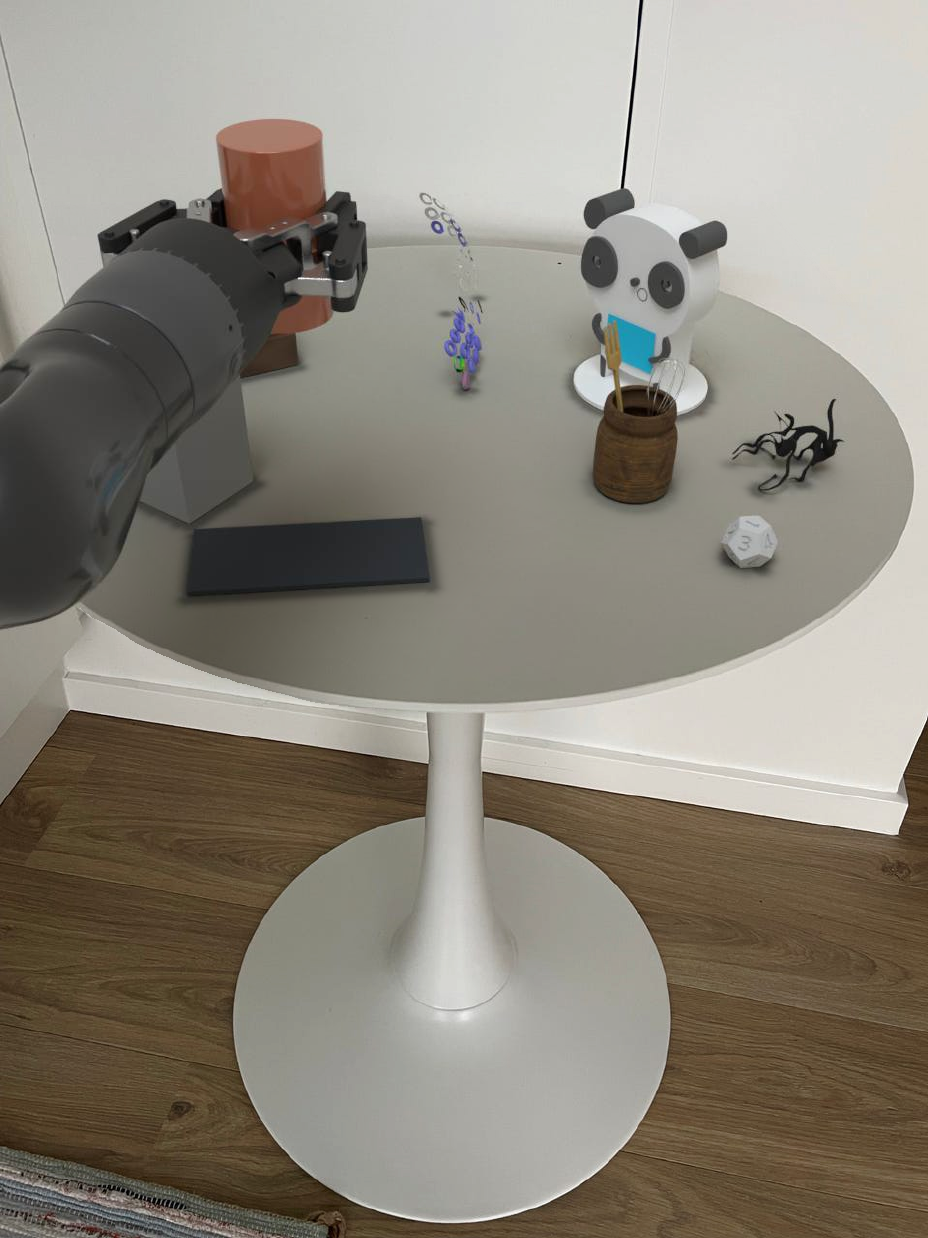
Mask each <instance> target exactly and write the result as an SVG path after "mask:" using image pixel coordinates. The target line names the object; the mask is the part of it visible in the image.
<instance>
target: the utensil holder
mask: <svg viewBox="0 0 928 1238" xmlns="http://www.w3.org/2000/svg"><path fill="white" fill-rule="evenodd" d="M608 329H609V337H608V330H607V327H606V326H605V327H604V339H605V349H606V359H607V367H608V369H610V370H612V371H613V376H614V384H615V390H613V391H612V392H611V393H610V394H609V395H608V396H607V399H606V402H605V405H604V411H603V416H602V418H601V419H600V421H599V423H598V425H597V431H596V435H595V444H594V454H593V461H592V462H593V463H592V477H593V479H592V480H593V483H594V485H595V487H596V488H597V490H598V491H599V492H600V493H601V494H603V495H604V496H606V497H608V498H610V499H611V500H614V501H617V502H622V503H628V504H644V503H650V502H652V501H655V500H657V499H659V498H661V497H662V496H664V495H665V494H666V492H667V491H668V490H669V488H670V486H671V482H672V479H673V473H674V468H675V461H676V456H677V455H676V454H677V450H678V449H677V447H678V439H679V438H678V437H679V436H678V435H679V433H678V428H677V425H676V421H677V418H678V416H677V405H676V400H675V399H674V398H675V397H676V396H675V397H674V398H673V397H672V396H671V395H670V393H669V394H668V392H665V391H663V390H661V389H658V387H659V385H658V386H657V388H655V387H651V386H649V385H650V382H649V385H648V386H645V385H629V386H623V387H620V380H619V372H618V369H619V366H620V364H621V362H622V357H621V350H620V343H619V336H618V330H617V323H616V320H614V321H613V330H612V324H611V323H609V324H608ZM613 331H614V336H613ZM609 340H610V343H609ZM614 341H615V343H614ZM670 358H672V357H669V358H663V359H667V360H668V359H670ZM672 359H673V358H672ZM672 359H670V360H668V361H672V362H673V361H675V362H676V359H675V360H672ZM661 360H662V359H661ZM661 360H659V361H661ZM667 360H666V361H665V364H666V362H667ZM677 360H678V359H677ZM659 361H658V362H659ZM658 362H657V363H658ZM672 362H671V363H672ZM675 362H674V365H675ZM677 362H679V361H677ZM677 362H676V363H677ZM663 363H664V362H663ZM671 363H670V364H671ZM680 363H681V362H680ZM661 364H662V363H661ZM661 364H660V365H661ZM670 364H669V365H670ZM681 364H682V363H681ZM656 365H657V364H656ZM656 365H655V367H656ZM669 365H668V366H669ZM678 365H679V364H678V363H677V367H678ZM682 365H683V364H682ZM664 366H665V365H664ZM679 366H680V365H679ZM655 367H654V369H655ZM657 367H658V366H657ZM683 367H684V365H683ZM667 368H668V367H667ZM667 368H666V369H667ZM680 368H681V366H680ZM656 369H657V368H656ZM656 369H655V370H656ZM663 369H664V367H663ZM655 370H653V373H652V375H651V378H650V381H651V379H652V376H653V374H654V372H655ZM676 370H677V368H676ZM681 370H682V368H681ZM665 371H666V370H665ZM665 371H664V373H665ZM662 372H663V370H662ZM664 373H663V375H664ZM675 373H676V371H675ZM682 373H683V370H682ZM661 375H662V373H661ZM663 375H662V377H663ZM684 375H685V368H684ZM662 377H661V376H660V378H661V379H662ZM683 378H684V376H683ZM673 379H675V374H674V377H673ZM673 379H672V381H673V383H674V380H673ZM659 381H660V382H661V380H660V379H659ZM682 383H683V379H682V382H681V385H680V388H679V390H678V392H680V389H681V386H682ZM658 384H660V383H659V382H658ZM671 384H672V382H671ZM670 386H671V385H670ZM672 386H673V384H672ZM669 389H670V387H669ZM669 389H668V391H669ZM671 389H672V387H671ZM670 392H671V390H670ZM678 392H677V394H678V395H679V393H678ZM677 394H676V395H677ZM677 397H678V396H677ZM676 399H677V398H676Z"/></svg>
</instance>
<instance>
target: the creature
mask: <svg viewBox="0 0 928 1238" xmlns="http://www.w3.org/2000/svg"><path fill="white" fill-rule="evenodd" d="M836 401H837V399H836V398H832V400H830V403H829V405H828V408H827V411H826V413H827V414H826V417H827V421H828V429H829V430H828V432H827V431H826V430H825V429H823V428H820V427H818V426H816V425H811V424H810V425H802V426H797V427H794V425H795V417H794V416H793V415H791V414H790V413H783V414H784V417H785V418H787V419H788V420H789V425H788V423H787V422H786V421H785V420H784V419H783V418H782V417H781V416H780V415H779V414H778V413H777V411H775V410H774V411H773V412H774V414H775V416H776V417H777V419H778V422H779V429H782V427H781V425H782V424H781V421H782V422H783V423H784V424H785V425H786V428H784V429H783V430H780V431H771V432H769V433H763V434H760V435H759V436H758V437H757V439H755V442H754V443H751V442H744V443H741V444H739V446H738V447H737V448H736V449H735V450H734V451H733V452H732V453H731V455H732V456H733V455H734V456H733V457H732V458H731V459H732V461H734V460H735V459H736V458H737V457H739V455H740V454H741V453H743V452H747V453H749V454H751V455H753V456H755V455H757V454H758V453H759V452H760V451H759V450H760V449H761V450H763V451H766V452H767V453H768V454H769V455H770V456H771V457H772V459H773V460H775V458H777V456H778V457H780V458H785V457H786V456H787V458H786V460H785V462H786V463H785V473H784V475H782V476H783V477H782V478H781V477H780V476H778V475H777V474H776V473H774V474H773V475H772V476H771V477H770V478H769V479H767V480H765V481H764V482H762V483H761V484H759V486H758V487H757V490H759V491H771V490H774V489H776V488H778V487H780V486H781V485H782V484H783V483H784V482H785V481H786V480H789V481H790V480H796V481H798V482H799V483H802V482H804V481H805V478H806V477H807V473H808V471H809V469H810V468H813V467H814V466H815V465H817V464H818V463H823V462H825V461H826V460H828V459H830V458H832V457H833V456H835V455H836V450H837V448H838V443H840V442H841V443H845V441H844V439H843V440H842V439H841V438H836V439H834V435H835V427H834V423H835V422H834V418H833V417H834V416H833V408H834V404H835V403H836ZM790 431H794V432H793V433H792V434H791V435H790V437H789V436H788V438H784V437H786V436H787V435H788V433H789V432H790ZM773 434H774V435H779V436H780V442H778V440H777V438H776V437H775V436H774V435H773ZM806 434H816V435H817V436H816V437H815V439H813V441H812V442H810V444H809V445H808V446H806V447H805V448H802V449H801V450H800V452H799V454H798V455H797V456H796V455H795V454H796V451H797V449H798V441H799V440H800V438H801V437H803V436H804V435H806ZM766 436H770V437H772V438H773V440H771V439H769V438H767V439H764V438H765V437H766ZM769 442H770V443H772V444H773V445H774V448H775V454H773V453H771V452H770V451H769V450H767V449H766V448H764V447H762V446H763V445H764V444H765V443H769ZM743 446H746V447H749V448H753V450H752V449H749V448H745V449H742V450H740V449H741V448H742V447H743ZM754 448H755V449H754ZM739 450H740V452H738V451H739ZM807 450H811V452H812V456H811V460H810V461H809V463H808V464H807V466H806V467H805V468H804V469H803V470H802V473H801V475H800V477H791V478H789V476H790V470H791V469H790V468H791V461H792V458H795V459H796V460H801V459H802V458H803V456H804V453H805V452H806V451H807ZM736 453H737V454H736ZM735 454H736V455H735ZM773 478H779V479H780V480H779V482H778V483H777V484H776V485H773V486H771V487H769V488H764V489H763V488H760V487H761V486H762V485H764V484H766V483H768V482H770V480H772V479H773Z"/></svg>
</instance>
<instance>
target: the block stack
mask: <svg viewBox="0 0 928 1238" xmlns="http://www.w3.org/2000/svg"><path fill="white" fill-rule="evenodd" d="M298 365H299V356H298V343H297V334H296V333H288V334H275V333H271V334H270V336H269V338H268V339H267V341H266V343H265V344H264V346H263V347H262V348H261V349H260V351H259V352H258V353H257V354H256V355H255V357H254V358H253V359H252V360H251V361H250V363H249V364H248V365H247V366H246V367H245V369H244V370H243V371H242V372H241V373H240V379H242V378H247V377H250V376H255V375H259V374H263V373H268V372H272V371H276V370H281V369H285V368H290V367H293V366H298Z"/></svg>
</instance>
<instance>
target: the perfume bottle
mask: <svg viewBox="0 0 928 1238" xmlns="http://www.w3.org/2000/svg"><path fill="white" fill-rule="evenodd" d="M248 434H249V433H248V426H247V419H246V411H245V403H244V395H243V388H242V378H240V375H239V376H238V377H237V378H236V379H235V381H234V382H233V383H232V384H231V385H230V387H229V388H228V389H227V390H226V391H225V393H224V394H223V395H222V396H221V397H220V399H219V400H218V401H217V402H216V403H215V405H214V406H213V407H212V408H211V409H210V410H209V411H208V412H207V413H206V414H205V415H204V416H203V417H202V418H201V419H200V420H198V421H197V422H196V423H195V424H194V425H192V426H191V427H189V428H188V429H187V430H186V431H185V432H184V433H183V434H182V435H181V436H180V437H179V439H178V440H177V441H176V442H175V443H174V445H173V446H172V447H171V448H170V449H169V450H168V452H167V453H166V454H165V455H164V456H163V458H162V459H161V460H160V461H159V462H158V464H157V465H156V466H155V467H154V468H153V469H152V470H151V471H150V472H149V473H148V474H147V477H146V481H145V485H144V489H143V492H142V496H141V499H140V502H141V503H142V504H145V505H147V506H149V507H152V508H154V509H155V510H158V511H160V512H161V513H162V512H163V513H165V514H166V515H168V516H171V517H173V518H175V519H178V520H179V521H182V522H183V523H186V524H188V525H191V524H192V523H193V522H195V521H196V520H198V519H199V518H201V517H202V516H203V515H205V514H207V513H209V512H210V511H211V510H213V509H214V508H216V507H217V506H219V505H221V504H222V503H223V502H225V501H226V500H228V499H230V498H231V497H232V496H234V495H235V494H237V493H238V492H240V491H241V490H243V489H244V488H246V487H248V486H249V485H250V484H252V483H253V482H254V481H255V479H254V473H253V472H254V471H253V465H252V458H251V449H250V443H249V435H248Z"/></svg>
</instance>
